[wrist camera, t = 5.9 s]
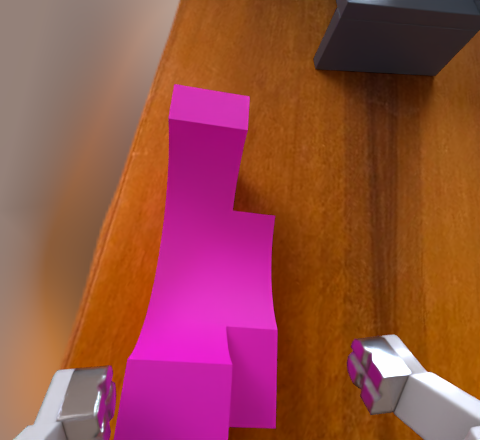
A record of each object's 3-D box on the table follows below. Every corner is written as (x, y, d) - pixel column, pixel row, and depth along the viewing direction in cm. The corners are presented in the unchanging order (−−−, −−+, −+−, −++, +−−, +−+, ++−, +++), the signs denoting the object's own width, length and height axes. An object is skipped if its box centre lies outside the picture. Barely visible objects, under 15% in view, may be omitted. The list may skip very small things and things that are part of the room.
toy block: (254, 405, 18) (298, 452, 11) (142, 401, 17) (112, 449, 10) (264, 173, 23) (297, 104, 16) (178, 161, 22) (174, 84, 15)
